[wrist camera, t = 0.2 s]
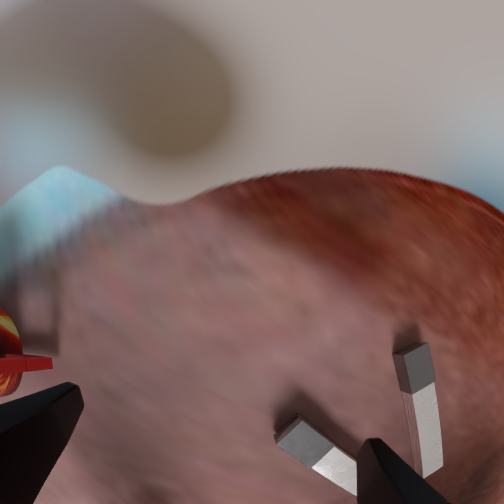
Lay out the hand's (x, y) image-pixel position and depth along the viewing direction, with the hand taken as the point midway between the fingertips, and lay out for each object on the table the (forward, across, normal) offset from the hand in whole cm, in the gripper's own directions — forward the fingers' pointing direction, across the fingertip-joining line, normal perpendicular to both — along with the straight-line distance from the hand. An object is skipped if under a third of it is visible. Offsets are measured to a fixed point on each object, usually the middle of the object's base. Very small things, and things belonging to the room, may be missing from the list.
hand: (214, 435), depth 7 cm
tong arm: (+8, -12, +15) cm, 21 cm away
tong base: (+12, -16, +10) cm, 22 cm away
